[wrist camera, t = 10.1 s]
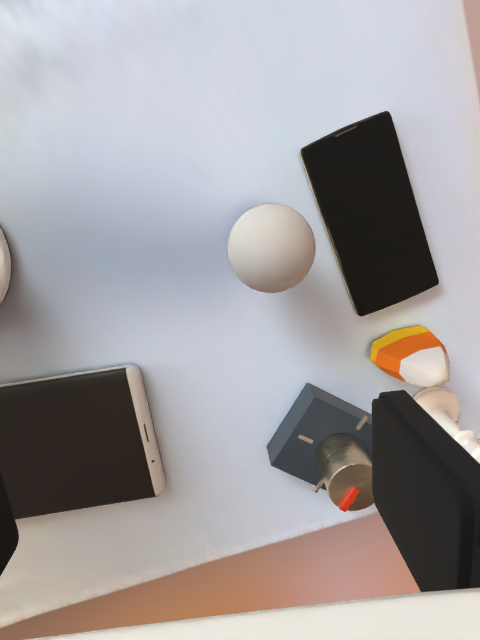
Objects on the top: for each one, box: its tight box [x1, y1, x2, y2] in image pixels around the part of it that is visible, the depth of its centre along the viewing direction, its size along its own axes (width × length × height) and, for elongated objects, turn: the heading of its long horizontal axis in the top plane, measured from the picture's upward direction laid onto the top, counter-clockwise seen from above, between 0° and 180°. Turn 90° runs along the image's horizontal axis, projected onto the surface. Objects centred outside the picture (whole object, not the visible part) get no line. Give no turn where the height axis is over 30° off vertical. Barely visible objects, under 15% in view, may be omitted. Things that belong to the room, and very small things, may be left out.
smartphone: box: [300, 111, 439, 316], centre depth 34 cm, size 7×1×15 cm
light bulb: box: [227, 204, 316, 293], centre depth 30 cm, size 6×6×10 cm
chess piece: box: [413, 387, 480, 464], centre depth 35 cm, size 5×5×10 cm
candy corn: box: [370, 326, 450, 387], centre depth 34 cm, size 6×3×8 cm, turn 110°
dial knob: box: [316, 433, 374, 512], centre depth 35 cm, size 4×4×5 cm
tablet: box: [0, 365, 166, 519], centre depth 38 cm, size 13×27×2 cm, turn 98°
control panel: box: [267, 383, 372, 493], centre depth 39 cm, size 10×9×3 cm
